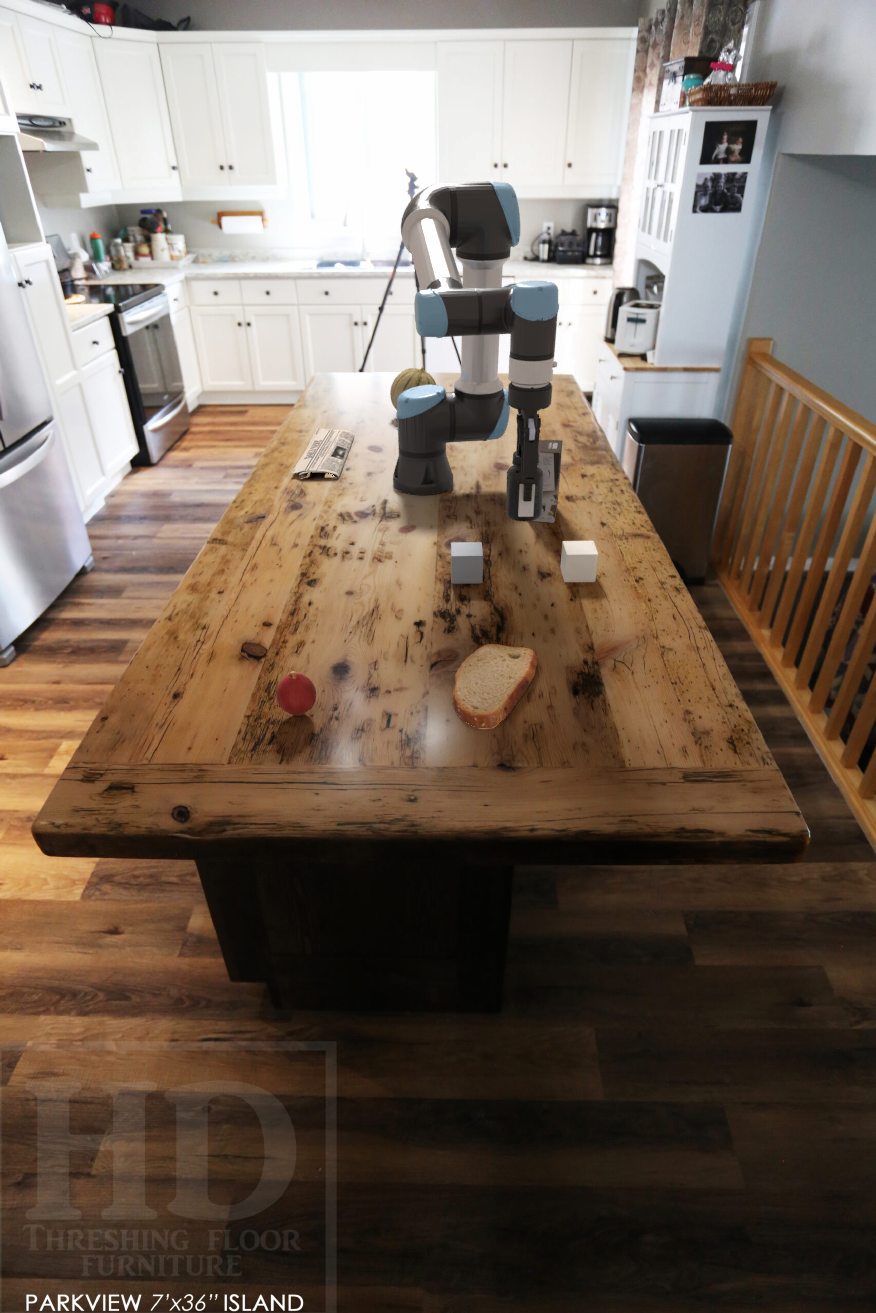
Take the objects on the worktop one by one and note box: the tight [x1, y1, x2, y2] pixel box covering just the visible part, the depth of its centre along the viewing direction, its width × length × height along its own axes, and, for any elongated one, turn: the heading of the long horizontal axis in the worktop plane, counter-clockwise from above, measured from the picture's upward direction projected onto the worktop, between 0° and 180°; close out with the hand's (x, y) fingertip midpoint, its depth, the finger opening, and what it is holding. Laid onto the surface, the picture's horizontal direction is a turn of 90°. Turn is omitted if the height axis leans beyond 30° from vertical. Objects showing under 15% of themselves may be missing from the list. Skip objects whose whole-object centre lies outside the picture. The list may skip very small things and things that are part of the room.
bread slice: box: [451, 643, 539, 729], centre depth 119 cm, size 18×18×4 cm
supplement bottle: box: [505, 450, 544, 522], centre depth 141 cm, size 7×7×12 cm
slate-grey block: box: [450, 541, 484, 585], centre depth 149 cm, size 6×6×6 cm
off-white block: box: [559, 540, 599, 583], centre depth 148 cm, size 6×6×6 cm
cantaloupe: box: [389, 366, 438, 411], centre depth 235 cm, size 15×15×15 cm
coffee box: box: [532, 439, 563, 524], centre depth 170 cm, size 9×6×16 cm
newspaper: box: [291, 425, 355, 480], centre depth 209 cm, size 35×12×4 cm, turn 178°
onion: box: [276, 671, 317, 717], centre depth 112 cm, size 6×6×8 cm
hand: (523, 507), depth 143 cm, fingers closed on supplement bottle, 7 cm apart
